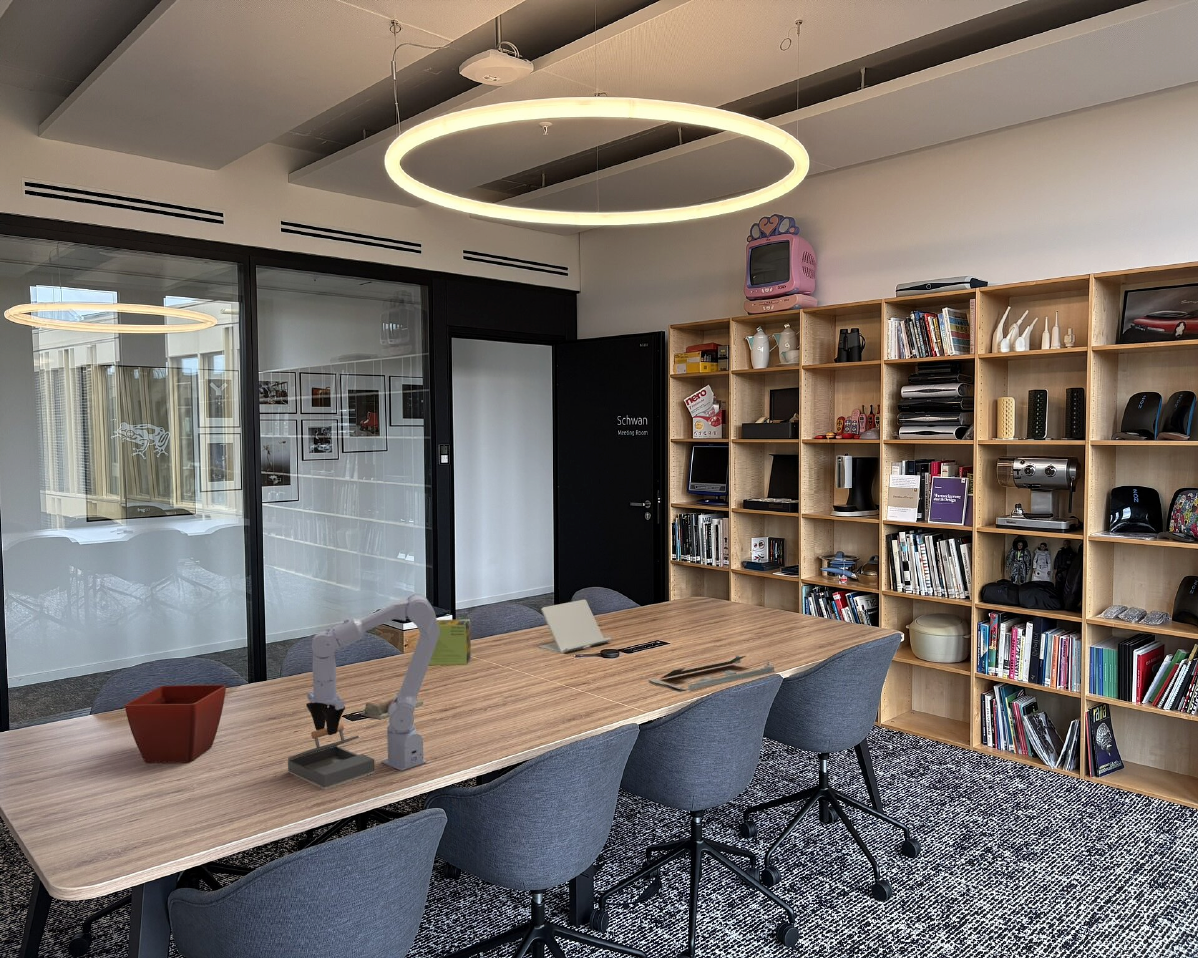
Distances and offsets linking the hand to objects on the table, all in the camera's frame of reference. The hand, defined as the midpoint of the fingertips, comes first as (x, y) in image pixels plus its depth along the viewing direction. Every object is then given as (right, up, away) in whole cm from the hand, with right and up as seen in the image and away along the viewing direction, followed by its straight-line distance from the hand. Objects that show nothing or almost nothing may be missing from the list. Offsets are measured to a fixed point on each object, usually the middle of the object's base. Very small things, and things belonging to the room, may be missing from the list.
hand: (326, 731), depth 224 cm
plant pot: (-45, -11, +14) cm, 48 cm away
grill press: (-1, -5, +1) cm, 5 cm away
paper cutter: (+110, -6, +84) cm, 138 cm away
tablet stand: (+60, -4, +135) cm, 148 cm away
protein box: (+13, -6, +112) cm, 113 cm away
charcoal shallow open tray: (+2, -10, -1) cm, 10 cm away
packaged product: (+5, -9, +52) cm, 53 cm away
